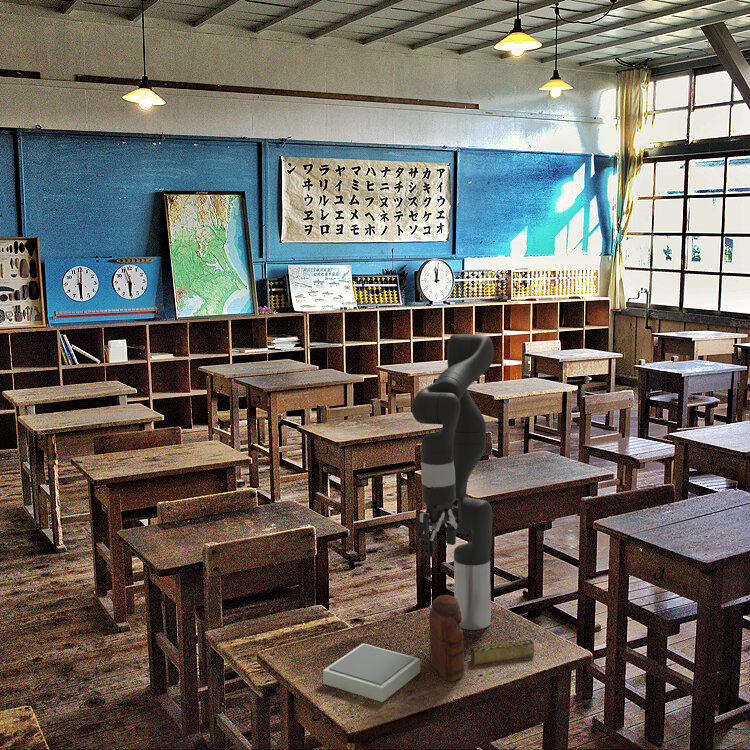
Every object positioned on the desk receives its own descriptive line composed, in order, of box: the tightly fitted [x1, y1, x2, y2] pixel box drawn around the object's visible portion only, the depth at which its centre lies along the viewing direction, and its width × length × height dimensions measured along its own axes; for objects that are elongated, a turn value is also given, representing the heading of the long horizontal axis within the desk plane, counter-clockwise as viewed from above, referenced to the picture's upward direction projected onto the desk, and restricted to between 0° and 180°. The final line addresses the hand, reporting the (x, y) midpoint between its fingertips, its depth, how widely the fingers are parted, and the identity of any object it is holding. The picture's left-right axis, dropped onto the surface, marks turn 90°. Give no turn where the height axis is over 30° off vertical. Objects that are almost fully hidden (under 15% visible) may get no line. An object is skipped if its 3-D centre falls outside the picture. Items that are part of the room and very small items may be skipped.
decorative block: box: [470, 639, 535, 665], centre depth 208 cm, size 15×2×4 cm, turn 104°
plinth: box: [322, 642, 421, 703], centre depth 199 cm, size 16×16×4 cm
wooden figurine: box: [428, 594, 465, 682], centre depth 201 cm, size 12×6×18 cm, turn 20°
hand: (440, 549), depth 197 cm, fingers open, 8 cm apart
